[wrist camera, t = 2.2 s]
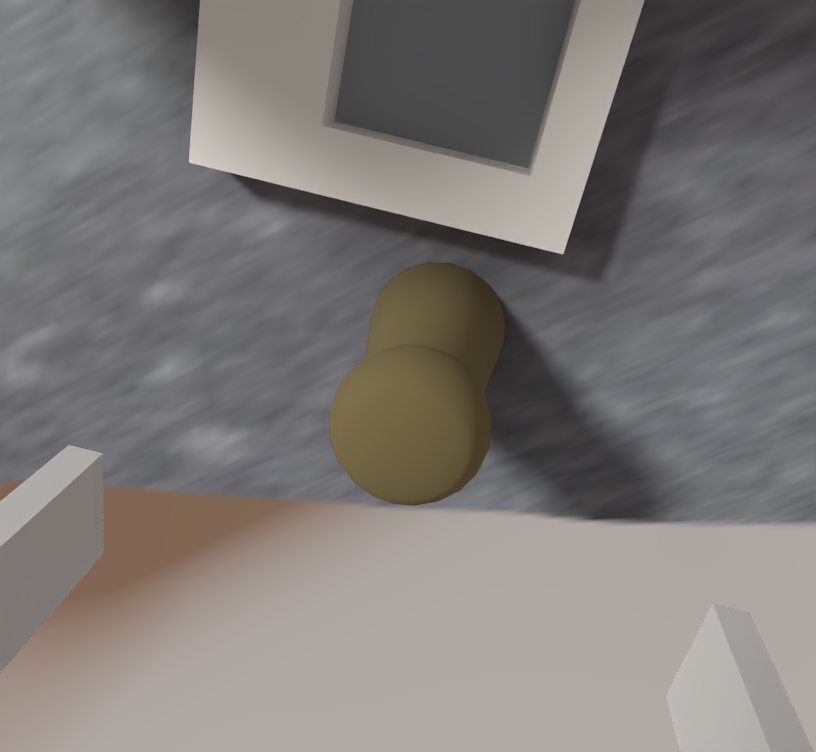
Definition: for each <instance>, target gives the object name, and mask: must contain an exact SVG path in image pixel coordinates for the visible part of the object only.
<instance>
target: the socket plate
mask: <svg viewBox="0 0 816 752" xmlns="http://www.w3.org/2000/svg"><path fill="white" fill-rule="evenodd" d="M644 1H645V0H200V9H199V23H198V38H197V52H196V67H195V81H194V96H193V110H192V125H191V139H190V154H189V163H193V164H197V165H201V166H205V167H209V168H213V169H217V170H221V171H225V172H230V173H234V174H238V175H242V176H246V177H250V178H254V179H258V180H262V181H266V182H270V183H274V184H278V185H282V186H286V187H291V188H295V189H299V190H303V191H307V192H311V193H315V194H319V195H323V196H327V197H331V198H335V199H339V200H343V201H348V202H352V203H356V204H360V205H364V206H368V207H372V208H376V209H380V210H384V211H388V212H392V213H396V214H400V215H404V216H409V217H413V218H417V219H421V220H425V221H429V222H433V223H437V224H441V225H445V226H449V227H453V228H457V229H461V230H466V231H470V232H474V233H478V234H482V235H486V236H490V237H494V238H498V239H502V240H506V241H510V242H514V243H518V244H522V245H527V246H531V247H535V248H539V249H543V250H547V251H551V252H555V253H559V254H564V251H565V247H566V244H567V241H568V238H569V235H570V232H571V229H572V226H573V222H574V219H575V216H576V213H577V210H578V207H579V204H580V201H581V197H582V194H583V191H584V188H585V185H586V182H587V179H588V176H589V172H590V169H591V166H592V163H593V160H594V157H595V154H596V151H597V147H598V144H599V141H600V138H601V135H602V132H603V129H604V126H605V122H606V119H607V116H608V113H609V110H610V107H611V104H612V101H613V97H614V94H615V91H616V88H617V85H618V82H619V79H620V76H621V72H622V69H623V66H624V63H625V60H626V57H627V54H628V51H629V47H630V44H631V41H632V38H633V35H634V32H635V29H636V26H637V22H638V19H639V16H640V13H641V10H642V7H643V4H644Z"/></svg>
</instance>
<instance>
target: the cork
mask: <svg viewBox="0 0 816 752" xmlns="http://www.w3.org/2000/svg"><path fill="white" fill-rule="evenodd" d="M505 328H506V321H505V317H504V313H503V310H502V306H501V302H500V301H499V299H498V298H497V296H496V295H495V293H494V292H493V290H492V289H491V287H490V286H489V284H487V283H486V282H485V281H483V280H482V279H481V278H480V277H478V276H477V275H476V274H475V273H473V272H472V271H470V270H467V269H464V268H462V267H459V266H456V265H454V264H450V263H425V264H422V265H418V266H414V267H411V268H408V269H406V270H405V271H403V272H402V273H400V274H399V275H397V276H396V277H394V278H393V279H391V280H390V281H389V283H388V284H387V285H386V287H385V288H384V289H383V291H382V292H381V293H380V294H379V296H378V298H377V301H376V304H375V307H374V310H373V313H372V318H371V324H370V329H369V335H368V341H367V347H366V352H365V358H364V360H363V361H361V362H360V363H358V364H357V365H355V366H354V368H353V369H352V370H351V371H350V373H349V374H348V375H347V376H346V378H345V379H344V380H343V381H342V383H341V384H340V386H339V387H338V389H337V391H336V394H335V397H334V400H333V403H332V406H331V409H330V443H331V445H332V448H333V450H334V453H335V455H336V458H337V460H338V463H339V464H340V465H341V467H342V468H343V469H344V470H345V472H346V473H347V474H348V475H349V477H350V478H351V479H352V480H353V482H354V483H355V484H356V485H358V486H359V487H361V488H362V489H363V490H365V491H366V492H368V493H369V494H370V495H372V496H374V497H376V498H379V499H382V500H385V501H387V502H390V503H393V504H402V505H413V506H415V505H421V504H426V503H432V502H436V501H440V500H442V499H444V498H446V497H448V496H450V495H452V494H454V493H456V492H458V491H460V490H461V489H462V488H463V487H464V486H465V485H466V484H467V483H468V482H469V481H470V480H471V479H472V478H473V477H474V476H475V475H476V474H477V472H478V470H479V469H480V467H481V465H482V462H483V460H484V458H485V456H486V454H487V452H488V449H489V447H490V435H491V412H490V409H489V405H488V402H487V398H486V395H485V389H486V387H487V384H488V382H489V380H490V377H491V375H492V372H493V370H494V367H495V365H496V362H497V360H498V357H499V355H500V352H501V350H502V347H503V345H504V341H505Z"/></svg>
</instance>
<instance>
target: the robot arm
mask: <svg viewBox="0 0 816 752" xmlns="http://www.w3.org/2000/svg"><path fill="white" fill-rule="evenodd" d="M102 554H103V453H99V452H95V451H91V450H87V449H83V448H78V447H74V446H70V445H68V446H67V447H66V448H65V449H64V450H62V451H61V452H60V453H59V454H58V455H56V456H55V457H54V458H53V459H51V460H50V461H49V462H48V463H47V464H45V465H44V466H43V467H42V468H40V469H39V470H38V471H37V472H36V473H34V474H33V475H32V476H31V477H30V478H28V479H27V480H26V481H25V482H23V483H22V484H21V485H20V486H19V487H17V488H16V489H15V490H14V491H12V492H11V493H10V494H9V495H8V496H7V497H5V498H4V499H3V500H2V501H0V673H1V671H2V670H3V669H4V668H5V667H6V666H7V665H8V663H9V662H10V661H11V660H12V659H13V658H14V656H15V655H16V654H17V653H18V652H19V651H20V649H21V648H22V647H23V646H24V645H25V644H26V643H27V641H28V640H29V639H30V638H31V637H32V636H33V634H34V633H35V632H36V631H37V630H38V629H39V627H40V626H41V625H42V624H43V623H44V622H45V620H46V619H47V618H48V617H49V616H50V615H51V613H52V612H53V611H54V610H55V609H56V608H57V607H58V605H59V604H60V603H61V602H62V601H63V600H64V599H65V597H66V596H67V595H68V594H69V593H70V591H71V590H72V589H73V588H74V587H75V586H76V585H77V583H78V582H79V581H80V580H81V579H82V577H83V576H84V575H85V574H86V573H87V572H88V571H89V570H90V568H91V567H92V566H93V565H94V564H95V563H96V561H97V560H98V559H99V558H100V557H101V556H102ZM666 700H667V704H668V708H669V712H670V715H671V719H672V724H673V727H674V731H675V735H676V739H677V743H678V747H679V751H680V752H813V750H812V748H811V746H810V744H809V741H808V739H807V737H806V735H805V732H804V730H803V728H802V726H801V724H800V721H799V719H798V717H797V715H796V713H795V710H794V708H793V706H792V704H791V702H790V699H789V697H788V695H787V693H786V691H785V689H784V686H783V684H782V682H781V680H780V678H779V676H778V673H777V671H776V669H775V667H774V664H773V662H772V660H771V658H770V656H769V653H768V651H767V649H766V647H765V645H764V642H763V640H762V638H761V636H760V634H759V632H758V629H757V627H756V625H755V623H754V620H753V619H752V616H751V614H750V612H746V611H741V610H737V609H733V608H729V607H725V606H721V605H717V604H712V606H711V608H710V610H709V612H708V614H707V615H706V617H705V620H704V621H703V623H702V625H701V627H700V629H699V631H698V633H697V635H696V637H695V639H694V641H693V643H692V645H691V647H690V649H689V651H688V653H687V655H686V657H685V659H684V661H683V663H682V665H681V667H680V668H679V670H678V673H677V674H676V676H675V678H674V680H673V682H672V684H671V687H670V688H669V690H668V692H667V694H666Z"/></svg>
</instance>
